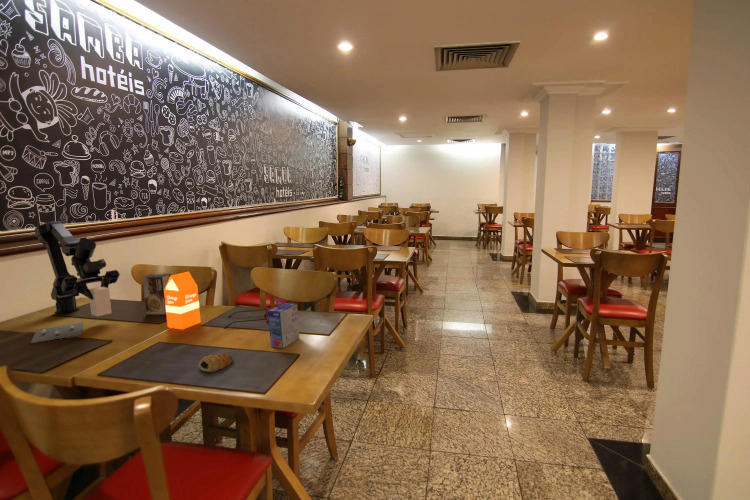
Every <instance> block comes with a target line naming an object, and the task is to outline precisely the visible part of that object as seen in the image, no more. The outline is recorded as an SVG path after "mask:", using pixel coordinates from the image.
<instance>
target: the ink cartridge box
mask: <svg viewBox="0 0 750 500" xmlns="http://www.w3.org/2000/svg"><path fill="white" fill-rule="evenodd" d="M280 302H281V303H280ZM274 303H275V304H276V306H275V307H274V308H271V309H270V310H268V315H267V318H268V320H267V321H268V329H269V330H268V331H269V339H270V340H269V341H270V346H271V347H272V348H273V347H274V348H280V349H284V348H286V347H287V346H289V345H290V344H292V343H294V342H295V341H297V340H299V339H300V328H299V313H298V304H297V303H289V302H284V299H283V298H280V299H278V300H275V301H274ZM279 303H280V304H279Z"/></svg>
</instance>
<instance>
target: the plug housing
mask: <svg viewBox="0 0 750 500" xmlns="http://www.w3.org/2000/svg"><path fill="white" fill-rule="evenodd" d="M88 289H89V290H90V292H91V294H92V296H93V300H91V299H89V305H90V306H89V307H90V313H91V315H92V316H95V317H101V316H105V315H109V314H112V313H113V312H112V305H111V295H110V289H109V287H108V288H106V287H100V286H99V287H94V288H93V287H92V288H88Z"/></svg>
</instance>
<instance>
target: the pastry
mask: <svg viewBox="0 0 750 500" xmlns="http://www.w3.org/2000/svg"><path fill="white" fill-rule="evenodd" d="M233 361H234V358H233V355H232V354H230V353H227V352H224V353H221V352H220V353H212V354H209V355H206V356H205V355H204V357H203V358H201V359H200V361H199V362H198V365H197V367H198V368H199V370H200V371H203V372H208V373H214V372H216V371H217V372H218V371H219V370H222V369H225V367H227V366H229V365H230V364H232V363H233Z"/></svg>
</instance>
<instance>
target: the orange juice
mask: <svg viewBox="0 0 750 500" xmlns="http://www.w3.org/2000/svg"><path fill="white" fill-rule="evenodd" d="M164 294H165V304H166V305H165V306H166V314H165V315H166V323H167V328H170V329H176V330H185V329H187V328H190V327H193V326H195V325H199V324H200V323H201V312H200V300H199V290H198V284H197V283H196V281H195V279H194V278H193V276H192V274H191V272H190V271H185V272H181V273H176V274H171V276H170V278H169V281H168V283H167V285H166V287H165V289H164Z"/></svg>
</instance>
